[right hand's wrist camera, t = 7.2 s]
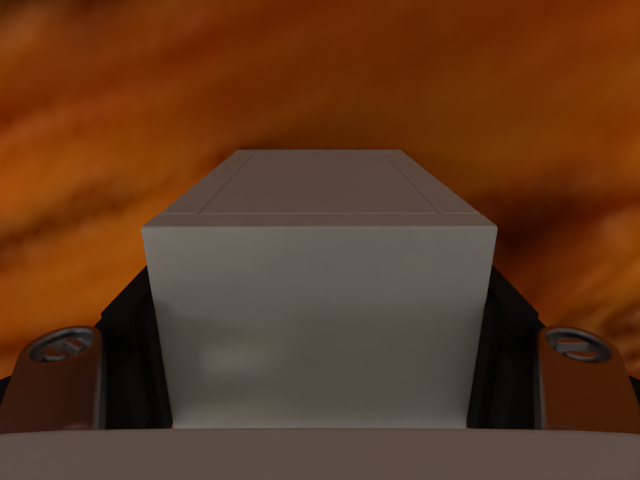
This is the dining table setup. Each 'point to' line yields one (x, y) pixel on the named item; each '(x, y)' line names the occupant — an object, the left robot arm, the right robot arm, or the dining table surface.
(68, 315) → the dining table surface
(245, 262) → the cabinet
